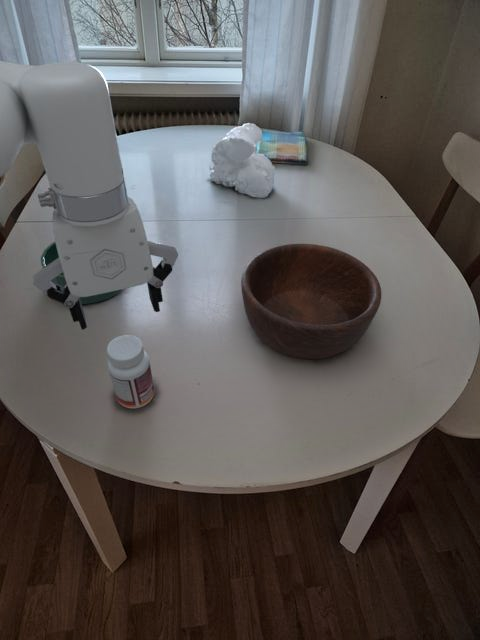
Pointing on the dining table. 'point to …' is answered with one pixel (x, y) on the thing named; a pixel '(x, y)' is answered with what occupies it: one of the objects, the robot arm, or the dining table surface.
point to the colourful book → (284, 147)
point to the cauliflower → (242, 162)
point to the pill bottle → (130, 371)
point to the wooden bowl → (309, 299)
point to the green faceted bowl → (50, 256)
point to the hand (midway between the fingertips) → (120, 313)
